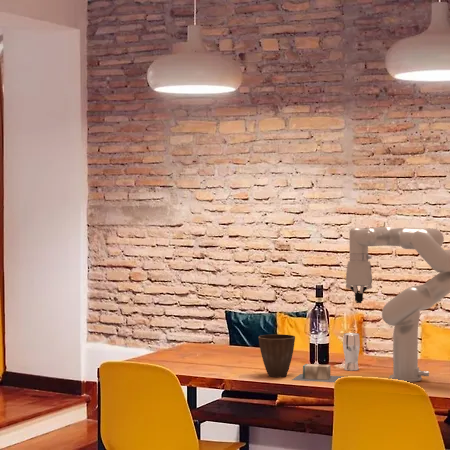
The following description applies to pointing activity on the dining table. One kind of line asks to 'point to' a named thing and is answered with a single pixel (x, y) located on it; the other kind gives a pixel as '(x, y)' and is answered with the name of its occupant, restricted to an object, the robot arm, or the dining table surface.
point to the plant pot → (277, 353)
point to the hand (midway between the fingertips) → (358, 302)
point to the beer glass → (351, 351)
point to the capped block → (316, 371)
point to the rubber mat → (332, 379)
